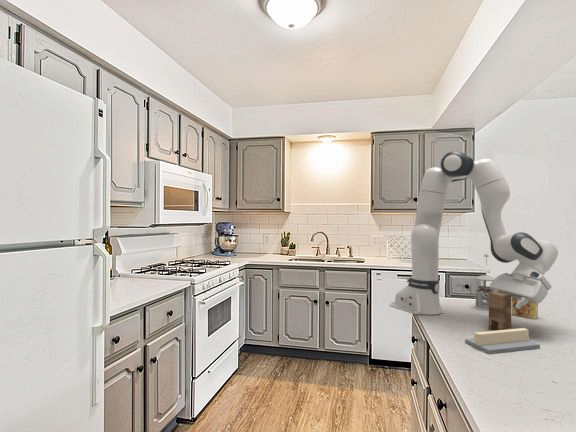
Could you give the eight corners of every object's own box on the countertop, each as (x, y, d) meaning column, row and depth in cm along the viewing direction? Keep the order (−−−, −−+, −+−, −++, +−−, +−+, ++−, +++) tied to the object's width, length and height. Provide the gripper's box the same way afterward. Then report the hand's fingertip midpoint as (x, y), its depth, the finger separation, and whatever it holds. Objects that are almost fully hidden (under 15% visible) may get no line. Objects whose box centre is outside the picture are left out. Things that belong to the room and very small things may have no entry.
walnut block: (500, 334, 128) (501, 295, 128) (488, 329, 134) (489, 292, 133) (510, 333, 129) (511, 294, 129) (498, 328, 135) (498, 291, 135)
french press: (501, 312, 157) (502, 255, 157) (473, 310, 159) (473, 254, 159) (493, 306, 167) (494, 253, 166) (466, 305, 169) (467, 252, 169)
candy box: (538, 317, 150) (538, 281, 149) (535, 319, 147) (536, 282, 147) (513, 313, 156) (514, 278, 156) (511, 314, 153) (511, 279, 153)
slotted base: (488, 354, 110) (489, 338, 110) (465, 342, 120) (465, 328, 120) (539, 348, 115) (540, 333, 115) (513, 337, 125) (513, 324, 125)
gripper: (498, 267, 144) (477, 292, 141) (546, 276, 124) (524, 305, 122) (507, 277, 145) (487, 303, 143) (556, 288, 125) (534, 317, 123)
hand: (504, 304), depth 132 cm, fingers open, 8 cm apart
